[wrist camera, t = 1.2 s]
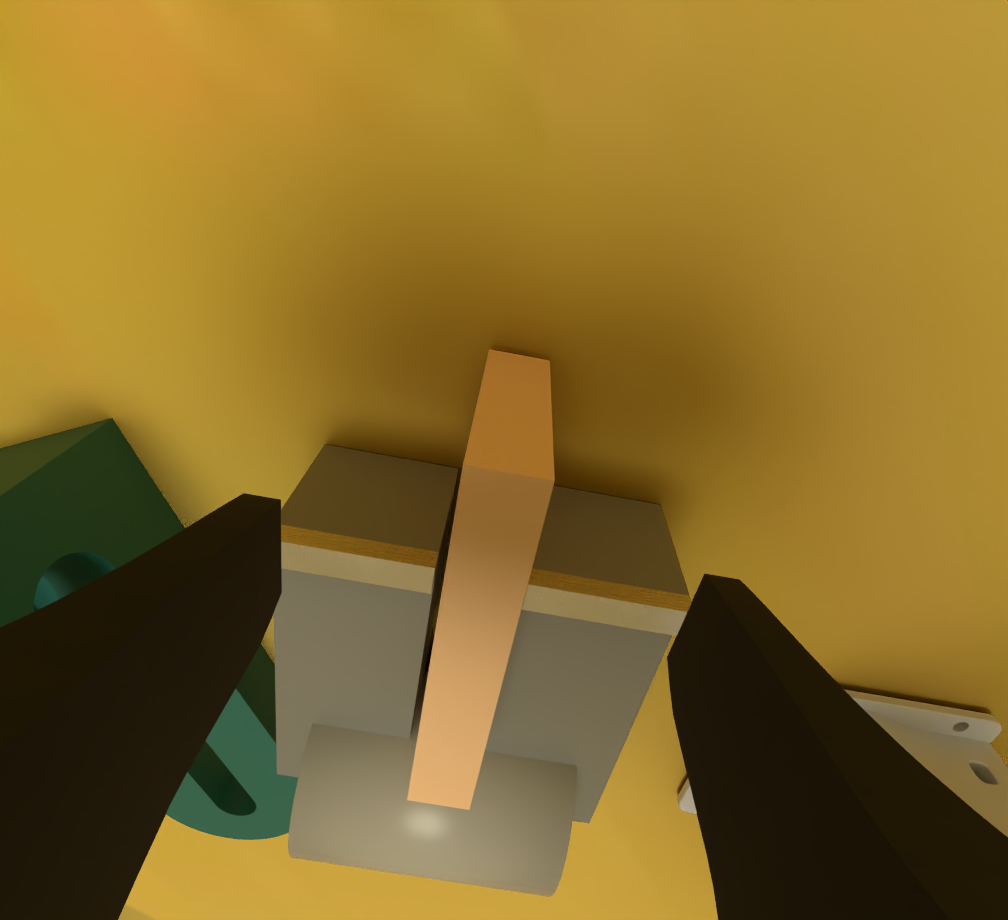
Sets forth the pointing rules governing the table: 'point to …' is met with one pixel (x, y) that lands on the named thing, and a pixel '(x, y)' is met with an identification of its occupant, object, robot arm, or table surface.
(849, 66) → the table surface
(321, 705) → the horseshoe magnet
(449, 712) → the orange wooden slat
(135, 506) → the bracket
